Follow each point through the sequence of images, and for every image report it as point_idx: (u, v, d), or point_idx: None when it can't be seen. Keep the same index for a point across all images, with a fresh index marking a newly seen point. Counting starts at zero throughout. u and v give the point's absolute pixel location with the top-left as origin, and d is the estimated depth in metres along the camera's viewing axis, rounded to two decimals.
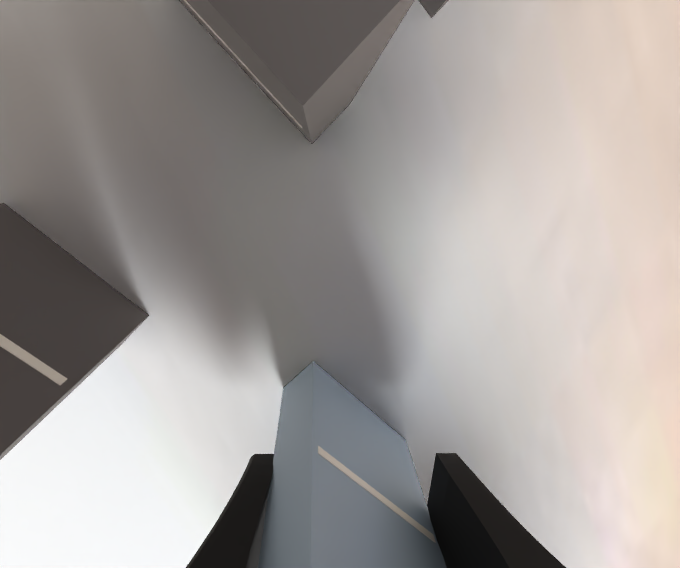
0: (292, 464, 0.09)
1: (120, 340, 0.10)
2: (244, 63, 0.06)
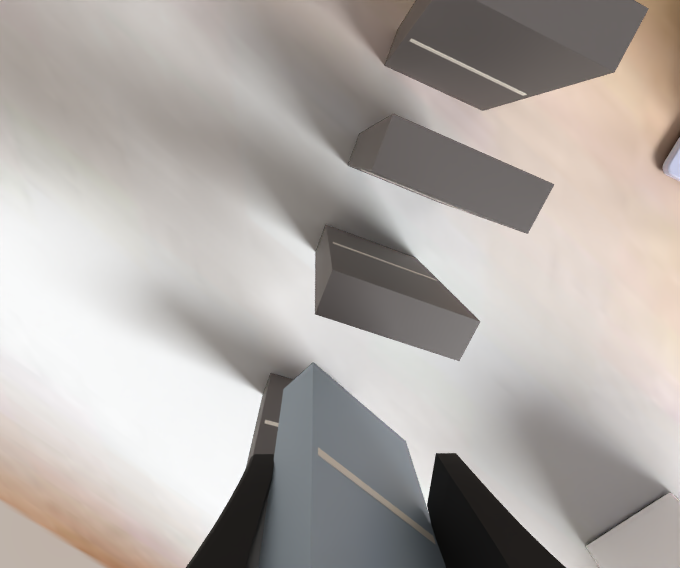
0: (292, 466, 0.09)
1: None
2: None
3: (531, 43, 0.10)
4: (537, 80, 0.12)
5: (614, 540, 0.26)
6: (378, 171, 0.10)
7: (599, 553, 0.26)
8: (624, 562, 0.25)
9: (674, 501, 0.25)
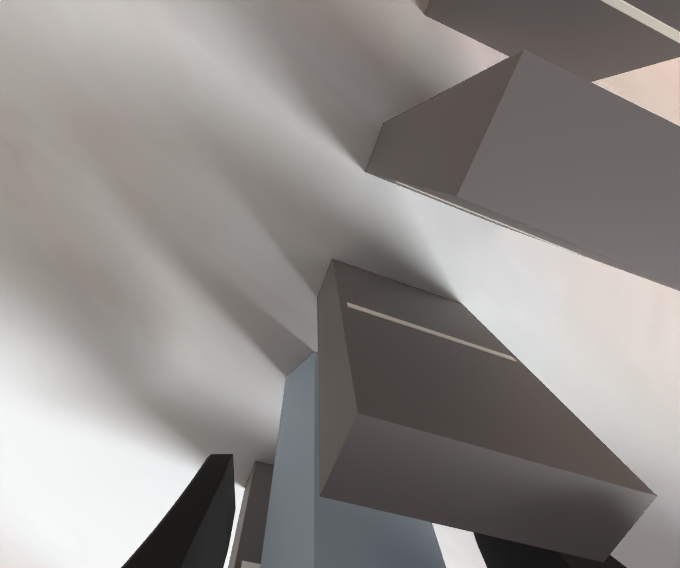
0: (295, 444, 0.10)
1: None
2: None
3: None
4: None
5: None
6: (473, 199, 0.04)
7: None
8: None
9: None
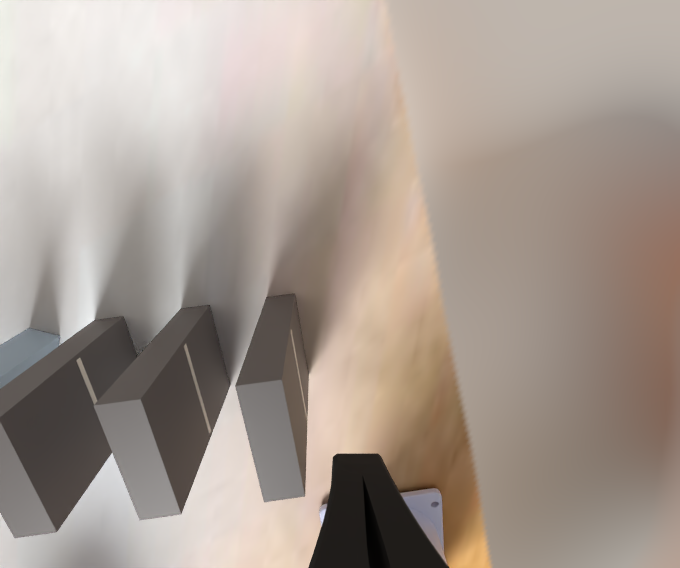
0: None
1: None
2: None
3: None
4: None
5: None
6: (97, 410, 0.12)
7: None
8: None
9: None
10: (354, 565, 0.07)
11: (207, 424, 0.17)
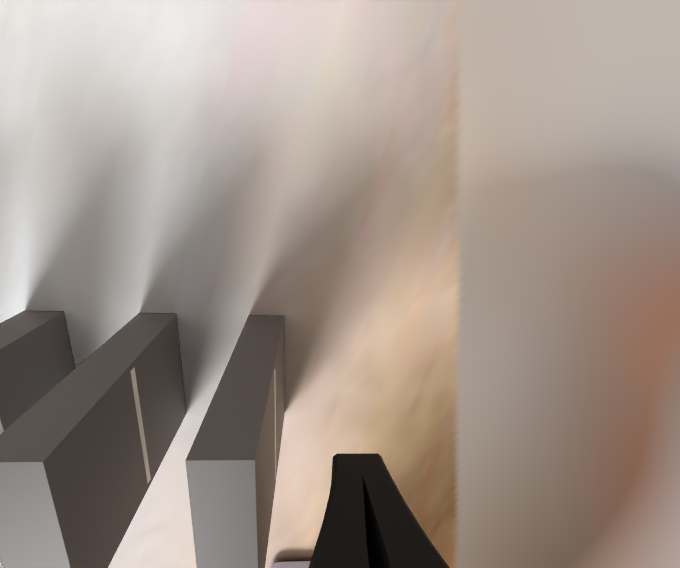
0: None
1: None
2: None
3: None
4: None
5: None
6: None
7: None
8: None
9: None
10: (354, 565, 0.07)
11: (146, 471, 0.13)
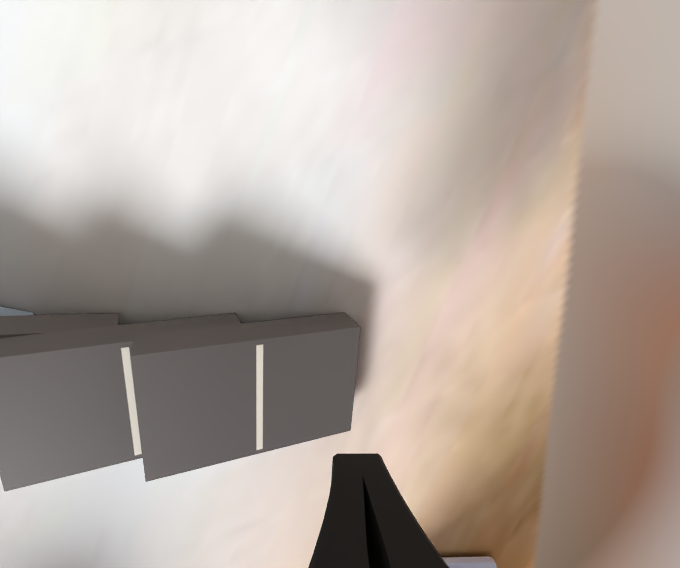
0: None
1: None
2: None
3: None
4: None
5: None
6: None
7: None
8: None
9: None
10: (354, 565, 0.07)
11: (135, 444, 0.14)
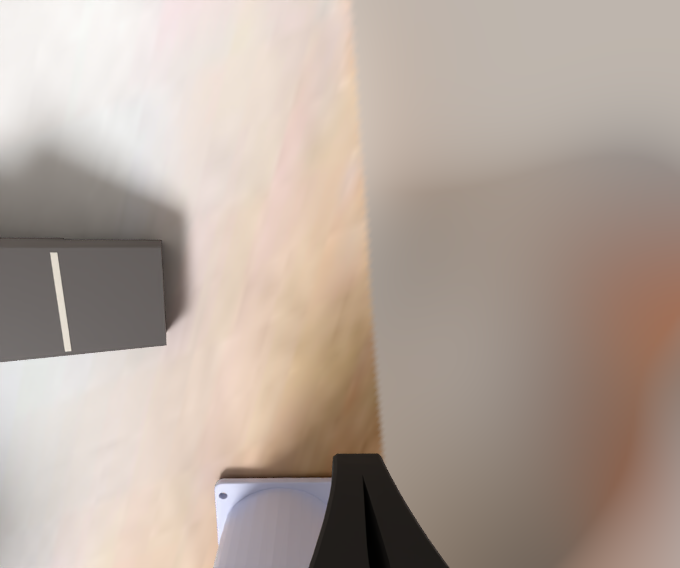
0: None
1: None
2: None
3: None
4: None
5: None
6: None
7: None
8: None
9: None
10: (354, 565, 0.07)
11: None
